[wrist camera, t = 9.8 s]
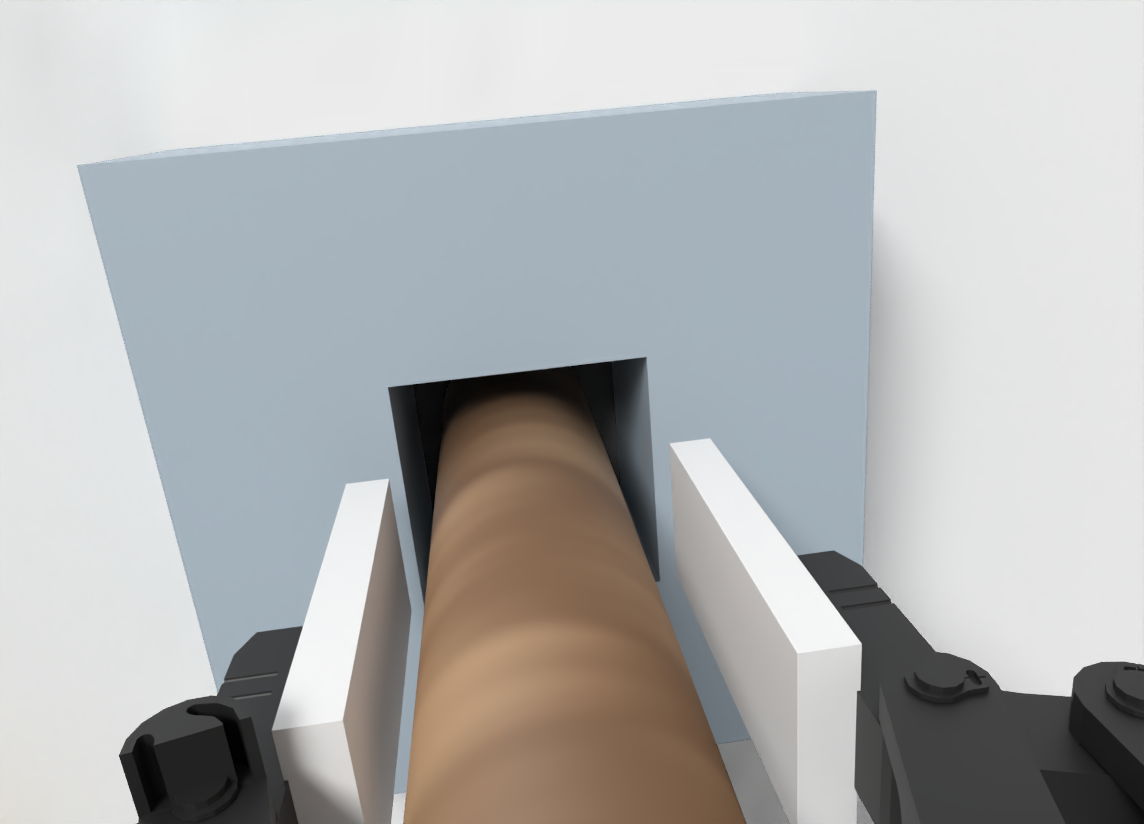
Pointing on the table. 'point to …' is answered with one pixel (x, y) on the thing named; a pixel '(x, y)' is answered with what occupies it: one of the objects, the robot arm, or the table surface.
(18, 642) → the table surface
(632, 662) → the dowel
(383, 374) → the socket block
